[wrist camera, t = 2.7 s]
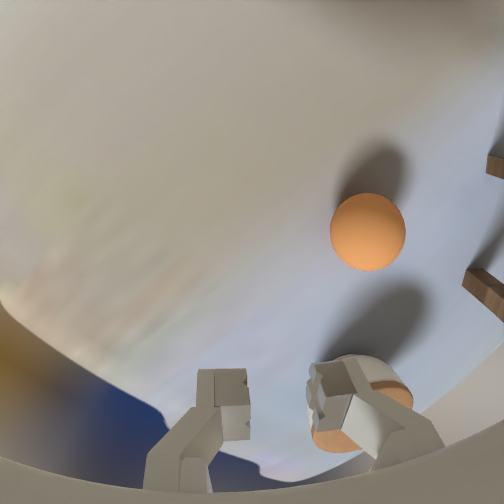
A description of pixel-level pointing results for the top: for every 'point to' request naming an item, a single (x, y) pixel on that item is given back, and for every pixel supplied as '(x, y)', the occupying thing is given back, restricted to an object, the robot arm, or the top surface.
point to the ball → (367, 231)
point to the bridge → (478, 280)
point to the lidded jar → (378, 379)
